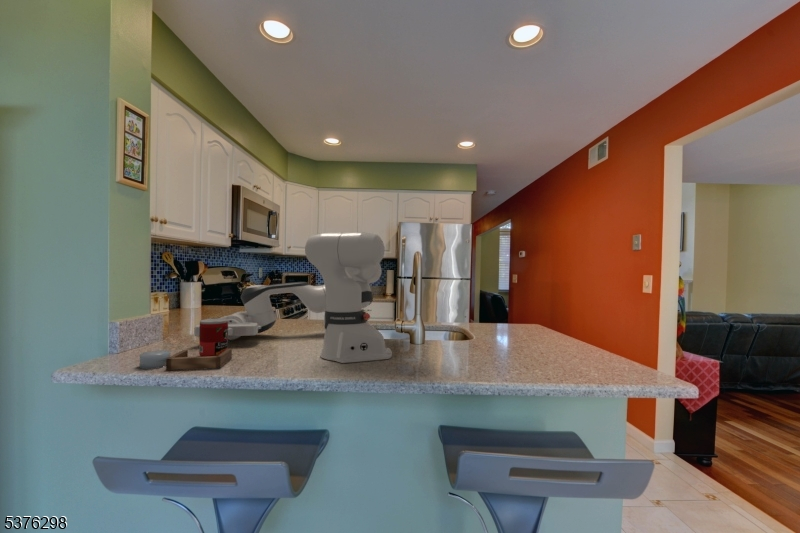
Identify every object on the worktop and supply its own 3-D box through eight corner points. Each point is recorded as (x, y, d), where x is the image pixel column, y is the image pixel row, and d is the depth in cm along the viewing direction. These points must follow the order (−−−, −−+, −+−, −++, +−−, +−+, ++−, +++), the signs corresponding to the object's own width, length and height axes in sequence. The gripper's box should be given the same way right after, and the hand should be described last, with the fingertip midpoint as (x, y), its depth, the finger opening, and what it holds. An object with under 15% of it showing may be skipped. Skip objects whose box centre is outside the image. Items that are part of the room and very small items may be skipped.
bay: (231, 358, 104) (231, 348, 104) (220, 368, 94) (220, 357, 94) (183, 360, 102) (183, 350, 102) (166, 370, 92) (166, 358, 92)
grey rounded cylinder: (174, 361, 100) (174, 349, 100) (162, 368, 93) (162, 355, 93) (148, 362, 99) (148, 350, 99) (133, 369, 92) (134, 356, 92)
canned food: (219, 358, 104) (220, 322, 104) (193, 358, 104) (193, 321, 104) (232, 352, 111) (232, 318, 112) (208, 352, 112) (208, 318, 112)
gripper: (262, 334, 130) (253, 342, 116) (203, 335, 126) (187, 344, 112) (262, 317, 130) (254, 323, 116) (203, 318, 126) (187, 324, 112)
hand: (220, 333), depth 114 cm, fingers closed
